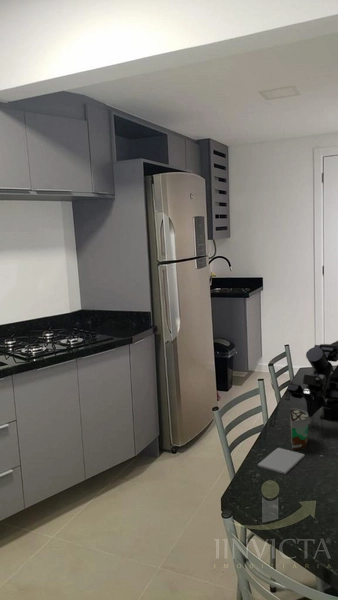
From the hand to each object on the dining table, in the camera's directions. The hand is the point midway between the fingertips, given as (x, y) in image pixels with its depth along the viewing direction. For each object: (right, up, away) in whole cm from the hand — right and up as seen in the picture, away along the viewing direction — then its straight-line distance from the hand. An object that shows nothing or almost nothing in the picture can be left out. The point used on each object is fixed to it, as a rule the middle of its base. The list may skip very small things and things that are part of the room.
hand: (309, 417), depth 157 cm
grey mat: (-13, -10, -15) cm, 22 cm away
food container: (-4, -8, -4) cm, 10 cm away
